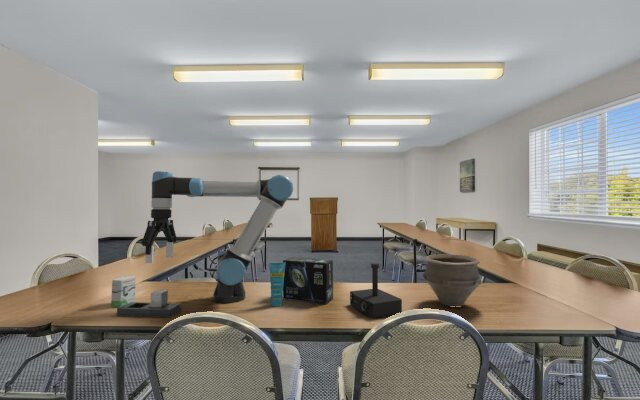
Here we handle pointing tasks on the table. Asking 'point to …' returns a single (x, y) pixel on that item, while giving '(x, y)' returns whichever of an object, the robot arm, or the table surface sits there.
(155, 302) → the grey rectangular block
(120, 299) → the ink box
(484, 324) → the table surface
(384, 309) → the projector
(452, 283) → the planter
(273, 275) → the tube
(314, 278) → the box
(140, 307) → the dark grey slotted tray
